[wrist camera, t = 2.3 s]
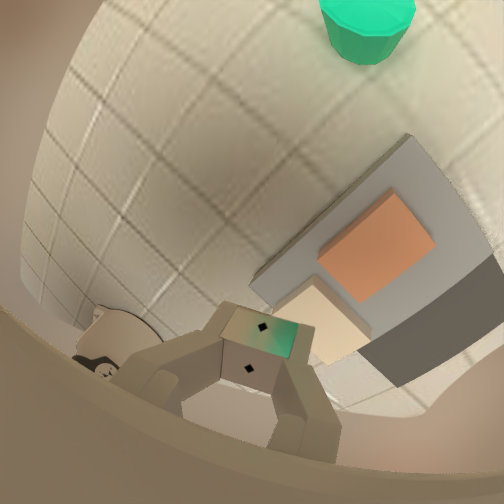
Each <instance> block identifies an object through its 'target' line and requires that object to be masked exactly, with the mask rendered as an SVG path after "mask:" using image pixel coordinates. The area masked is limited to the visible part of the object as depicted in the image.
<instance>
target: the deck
mask: <svg viewBox="0 0 504 504" xmlns="http://www.w3.org/2000/svg"><path fill="white" fill-rule="evenodd" d="M391 187H392V189H393V190H394V191H395V192H396V193H397V194H398V196H399V197H400V198H401V199H402V200H403V201H404V203H405V204H406V205H407V206H408V207H409V209H410V210H411V211H412V212H413V214H414V215H415V216H416V217H417V219H418V220H419V221H420V222H421V224H422V225H423V226H424V227H425V229H426V230H427V231H428V233H429V234H430V235H431V237H432V238H433V240H434V242H435V244H436V247H434V248H433V249H432V250H431V251H429V252H428V253H427V254H426V255H425V256H423V257H422V258H421V259H420V260H418V261H417V262H416V263H415V264H413V265H412V266H411V267H409V268H408V269H407V270H406V271H404V272H403V273H402V274H400V275H399V276H398V277H396V278H395V279H394V280H392V281H391V282H390V283H388V284H387V285H386V286H384V287H383V288H382V289H380V290H379V291H377V292H376V293H375V294H373V295H372V296H371V297H369V298H368V299H366V300H365V301H363V302H362V303H361V304H359V303H358V302H357V301H356V300H355V299H354V297H353V296H352V295H351V294H350V293H349V292H348V291H347V290H346V289H345V288H344V287H343V286H342V285H341V284H340V283H339V282H338V281H337V280H336V279H335V278H334V277H333V276H332V275H331V274H330V273H329V272H327V271H326V270H325V269H324V268H323V267H322V266H321V265H320V264H319V263H318V262H317V257H318V254H319V251H320V250H321V249H322V248H323V247H324V246H326V245H327V244H328V243H329V242H330V241H331V240H333V239H334V238H335V237H336V236H337V235H338V234H340V233H341V232H342V231H343V230H344V229H345V228H346V227H348V226H349V225H350V224H351V223H352V222H353V221H354V220H356V219H357V218H358V217H359V216H360V215H361V214H362V213H363V212H365V211H366V210H367V209H368V208H369V207H370V206H371V205H372V204H373V203H375V202H376V201H377V200H378V199H379V198H380V197H381V196H382V195H383V194H385V193H386V192H387V191H388V190H389V189H390V188H391ZM493 252H494V251H493V249H492V247H491V246H490V244H489V242H488V240H487V238H486V237H485V235H484V233H483V232H482V230H481V228H480V227H479V225H478V223H477V222H476V220H475V219H474V217H473V215H472V214H471V212H470V211H469V209H468V208H467V206H466V205H465V203H464V202H463V200H462V199H461V197H460V196H459V194H458V193H457V192H456V190H455V189H454V187H453V186H452V185H451V183H450V182H449V180H448V179H447V178H446V176H445V175H444V174H443V172H442V171H441V170H440V168H439V167H438V166H437V165H436V163H435V162H434V161H433V160H432V158H431V157H430V156H429V155H428V153H427V152H426V151H425V150H424V149H423V147H422V146H421V145H420V144H419V143H418V141H417V140H416V139H415V138H414V137H413V136H412V135H410V134H406V135H405V136H404V137H403V138H401V139H400V140H399V141H398V142H397V143H396V144H395V145H394V146H393V147H392V148H391V149H390V150H389V151H388V152H387V153H386V154H385V155H384V156H383V157H382V158H381V159H380V160H379V161H377V162H376V163H375V164H374V165H373V166H372V167H371V168H370V169H369V170H368V171H367V172H366V173H365V174H364V175H363V176H362V177H361V178H360V179H358V180H357V181H356V182H355V183H354V184H353V185H352V186H351V187H350V188H349V189H348V190H347V191H346V192H345V193H344V194H342V195H341V196H340V197H339V198H338V199H337V200H336V201H335V202H334V203H333V204H332V205H331V206H330V207H329V208H327V209H326V210H325V211H324V212H323V213H322V214H321V215H320V216H319V217H318V218H317V219H316V220H315V221H313V222H312V223H311V224H310V225H309V226H308V227H307V228H306V229H305V230H304V231H303V232H301V233H300V234H299V235H298V236H297V237H296V238H295V239H294V240H293V241H292V242H291V243H289V244H288V245H287V246H286V247H285V248H284V249H283V250H282V251H281V252H280V253H279V254H277V255H276V256H275V257H274V258H273V259H272V260H271V261H270V262H269V263H268V264H266V265H265V266H264V267H263V268H262V269H261V270H260V271H259V272H258V273H256V274H255V276H254V277H253V279H252V281H251V282H250V284H249V287H250V288H251V289H252V290H253V291H254V292H255V293H256V294H258V295H259V296H260V297H261V298H262V299H263V300H264V301H265V302H266V303H268V304H269V305H270V306H271V307H272V308H273V309H274V307H275V305H276V304H277V303H279V302H280V301H281V300H282V299H284V298H285V297H286V296H288V295H289V294H290V293H292V292H293V291H294V290H295V289H297V288H298V287H299V286H300V285H302V284H303V283H304V282H306V281H307V280H308V279H309V278H311V277H312V276H313V275H314V274H316V275H317V276H318V277H319V278H320V279H321V280H322V281H323V282H324V283H325V284H326V285H327V286H328V287H329V288H330V289H331V290H332V291H333V292H334V293H335V294H336V295H337V296H338V297H339V298H340V299H341V300H343V301H344V302H345V303H346V304H347V305H348V306H349V307H350V308H351V309H352V310H353V311H354V312H355V313H356V314H357V315H358V316H359V317H360V318H361V319H362V320H363V321H364V322H365V323H366V324H367V325H368V326H369V327H370V328H371V341H373V340H375V339H376V338H378V337H380V336H381V335H383V334H384V333H386V332H388V331H389V330H391V329H392V328H394V327H395V326H397V325H398V324H400V323H402V322H403V321H405V320H406V319H408V318H409V317H411V316H412V315H413V314H415V313H416V312H418V311H419V310H421V309H422V308H424V307H425V306H426V305H428V304H429V303H431V302H432V301H433V300H435V299H436V298H437V297H439V296H440V295H442V294H443V293H444V292H446V291H447V290H448V289H450V288H451V287H452V286H453V285H455V284H456V283H457V282H459V281H460V280H461V279H462V278H464V277H465V276H466V275H467V274H469V273H470V272H471V271H472V270H473V269H475V268H476V267H477V266H478V265H479V264H481V263H482V262H483V261H484V260H485V259H486V258H488V257H489V256H490V255H491V254H492V253H493ZM369 343H370V342H369ZM364 346H365V345H364ZM359 349H360V348H359ZM357 350H358V349H357ZM352 353H353V352H352ZM345 357H346V356H345ZM343 358H344V357H343ZM336 362H337V361H336Z"/></svg>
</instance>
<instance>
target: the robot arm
mask: <svg viewBox="0 0 504 504" xmlns="http://www.w3.org/2000/svg"><path fill="white" fill-rule="evenodd" d="M298 325H299V326H298ZM296 332H297V333H296ZM314 333H315V327H314V326H310V325H306V324H302V323H300V324H299V323H297V322H293V321H289V320H286V319H282V318H279V317H275V316H271V315H268V314H265V313H262V312H259V311H256V310H253V309H250V308H247V307H243V306H240V305H237V304H234V303H231V302H228V301H223V302H222V303H221V304H220V305H219V307H218V308H217V310H216V311H215V313H214V314H213V315H212V317H211V318H210V320H209V321H208V323H207V324H206V326H205V327H204V329H203V330H202V331H199V330H196V331H193V332H190V333H188V334H185V335H182V336H180V337H177V338H174V339H172V340H169V341H166V342H162V341H161V339H160V338H159V337H158V336H157V334H156V333H155V332H154V331H153V330H152V329H151V328H150V327H149V326H148V325H146V324H145V323H144V322H143V321H141V320H140V319H138V318H137V317H135V316H134V315H132V314H130V313H127V312H125V311H121V310H110V309H107V308H105V307H103V306H100V305H97V306H96V307H95V309H94V313H93V321H92V324H91V325H90V326H89V327H88V328H87V330H86V331H85V332H84V333H83V334H82V335H81V336H80V337H79V338H78V339H77V341H76V342H77V345H76V348H77V353H76V355H75V356H73V357H72V358H70V357H69V356H67V355H66V354H64V353H63V352H61V351H60V350H58V349H57V348H56V347H54V346H53V345H51V344H50V343H49V342H47V341H46V340H44V339H43V338H42V337H40V336H39V335H38V334H37V333H35V332H34V331H33V330H31V329H30V328H29V327H27V326H26V325H25V324H24V323H22V322H21V321H20V320H19V319H18V318H16V317H15V316H14V315H13V314H12V313H10V312H9V311H8V310H7V309H6V308H4V307H3V306H2V305H1V304H0V504H504V470H497V471H488V472H476V473H456V474H422V473H421V474H420V473H402V472H389V471H379V470H369V469H362V468H355V467H348V466H342V465H336V464H335V463H336V457H337V452H338V447H339V441H340V435H341V429H342V425H341V423H340V421H339V419H338V417H337V415H336V413H335V411H334V409H333V407H332V405H331V403H330V401H329V399H328V397H327V395H326V393H325V391H324V389H323V387H322V385H321V383H320V381H319V379H318V377H317V375H316V373H315V371H314V369H313V367H312V366H311V365H308V364H307V363H308V358H309V354H310V350H311V346H312V342H313V337H314ZM220 378H222V379H225V380H228V381H231V382H234V383H238V384H241V385H244V386H247V387H250V388H253V389H256V390H259V391H262V392H265V393H268V394H271V397H272V400H273V404H274V408H275V411H276V415H277V418H278V422H277V424H276V427H275V429H274V431H273V434H272V436H271V438H270V440H269V442H268V445H267V447H266V448H264V447H261V446H257V445H254V444H251V443H247V442H245V441H242V440H238V439H236V438H232V437H230V436H227V435H224V434H221V433H219V432H216V431H213V430H210V429H208V428H205V427H203V426H200V425H198V424H195V423H193V422H190V421H188V420H186V419H183V415H182V406H181V402H182V401H184V400H186V399H187V398H189V397H191V396H193V395H194V394H196V393H198V392H199V391H201V390H203V389H205V388H206V387H208V386H210V385H211V384H213V383H215V382H216V381H218V380H220Z"/></svg>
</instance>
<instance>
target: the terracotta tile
mask: <svg viewBox="0 0 504 504" xmlns="http://www.w3.org/2000/svg"><path fill="white" fill-rule="evenodd" d="M434 247H436V244H435V242H434V240H433V238H432V237H431V235H430V234H429V233H428V231H427V230H426V229H425V227H424V226H423V225H422V224H421V222H420V221H419V220H418V219H417V217H416V216H415V215H414V214H413V212H412V211H411V210H410V209H409V207H408V206H407V205H406V204H405V203H404V201H403V200H402V199H401V198H400V197H399V196H398V194H397V193H396V192H395V191H394V190H393V189H392V187H391V188H390V189H389V190H388V191H387V192H386V193H385V194H383V195H382V196H381V197H380V198H379V199H378V200H377V201H376V202H375V203H373V204H372V205H371V206H370V207H369V208H368V209H367V210H366V211H365V212H363V213H362V214H361V215H360V216H359V217H358V218H357V219H356V220H354V221H353V222H352V223H351V224H350V225H349V226H348V227H346V228H345V229H344V230H343V231H342V232H341V233H340V234H338V235H337V236H336V237H335V238H334V239H333V240H331V241H330V242H329V243H328V244H327V245H326V246H324V247H323V248H322V249H321V250H320V251H319V254H318V257H317V262H318V263H319V264H320V265H321V266H322V267H323V268H324V269H325V270H326V271H327V272H329V273H330V274H331V275H332V276H333V277H334V278H335V279H336V280H337V281H338V282H339V283H340V284H341V285H342V286H343V287H344V288H345V289H346V290H347V291H348V292H349V293H350V294H351V295H352V296H353V297H354V299H355V300H356V301H357V302H358V303H359V304H361V303H362V302H363V301H365V300H366V299H368V298H369V297H371V296H372V295H373V294H375V293H376V292H377V291H379V290H380V289H382V288H383V287H384V286H386V285H387V284H388V283H390V282H391V281H392V280H394V279H395V278H396V277H398V276H399V275H400V274H402V273H403V272H404V271H406V270H407V269H408V268H409V267H411V266H412V265H413V264H415V263H416V262H417V261H418V260H420V259H421V258H422V257H423V256H425V255H426V254H427V253H428V252H429V251H431V250H432V249H433V248H434Z"/></svg>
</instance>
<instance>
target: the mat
mask: <svg viewBox="0 0 504 504" xmlns="http://www.w3.org/2000/svg"><path fill="white" fill-rule="evenodd" d="M502 322H504V274H503V272H502V270H501V268H500V266H499V265H498V263H497V261H496V259H495V257H494V255H493V253H492V254H491V255H490V256H489V257H488V258H486V259H485V260H484V261H483V262H482V263H481V264H479V265H478V266H477V267H476V268H475V269H473V270H472V271H471V272H470V273H469V274H467V275H466V276H465V277H464V278H462V279H461V280H460V281H459V282H457V283H456V284H455V285H453V286H452V287H451V288H450V289H448V290H447V291H446V292H444V293H443V294H442V295H440V296H439V297H437V298H436V299H435V300H433V301H432V302H431V303H429V304H428V305H426V306H425V307H424V308H422V309H421V310H419V311H418V312H416V313H415V314H413V315H412V316H411V317H409V318H408V319H406V320H405V321H403V322H402V323H400V324H398V325H397V326H395V327H394V328H392V329H391V330H389V331H388V332H386V333H384V334H383V335H381V336H380V337H378V338H376V339H375V340H373V341H371V342H370V343H368V344H366V345H365V346H363V347H361V348H360V349H358V350H357V351H358V352H359V353H360V354H361V355H362V356H363V357H364V358H366V359H367V360H368V361H369V362H370V363H371V364H372V365H373V366H374V367H375V368H376V369H377V370H379V371H380V372H381V373H382V374H383V375H384V376H385V377H386V378H387V379H388V380H389V381H390V382H392V383H393V384H394V385H395V386H396V387H397V388H398V387H400V386H402V385H404V384H406V383H408V382H410V381H412V380H414V379H416V378H417V377H419V376H421V375H423V374H425V373H427V372H428V371H430V370H432V369H434V368H435V367H437V366H439V365H440V364H442V363H444V362H445V361H447V360H449V359H450V358H452V357H453V356H455V355H457V354H458V353H460V352H461V351H463V350H464V349H466V348H467V347H469V346H470V345H472V344H473V343H475V342H476V341H478V340H479V339H481V338H482V337H483V336H485V335H486V334H488V333H489V332H490V331H492V330H493V329H494V328H496V327H497V326H498V325H500V324H501V323H502Z"/></svg>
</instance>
